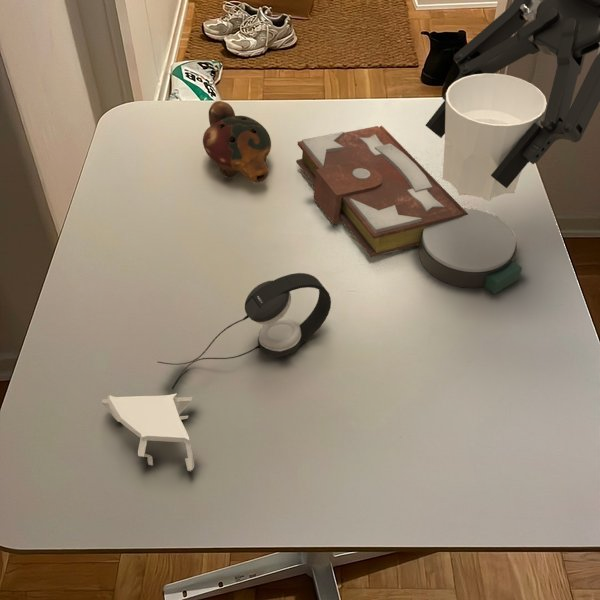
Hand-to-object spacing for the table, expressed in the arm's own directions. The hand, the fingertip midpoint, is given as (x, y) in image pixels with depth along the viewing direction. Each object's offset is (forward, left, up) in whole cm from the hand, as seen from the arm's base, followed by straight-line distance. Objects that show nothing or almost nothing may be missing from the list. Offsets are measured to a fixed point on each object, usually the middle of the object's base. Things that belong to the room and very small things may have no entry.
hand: (464, 156), depth 78 cm
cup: (0, -3, -4) cm, 5 cm away
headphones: (+4, +26, -19) cm, 33 cm away
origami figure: (+1, +40, -19) cm, 44 cm away
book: (+18, -4, -19) cm, 27 cm away
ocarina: (+36, +7, -19) cm, 41 cm away
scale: (+2, -6, -19) cm, 20 cm away
